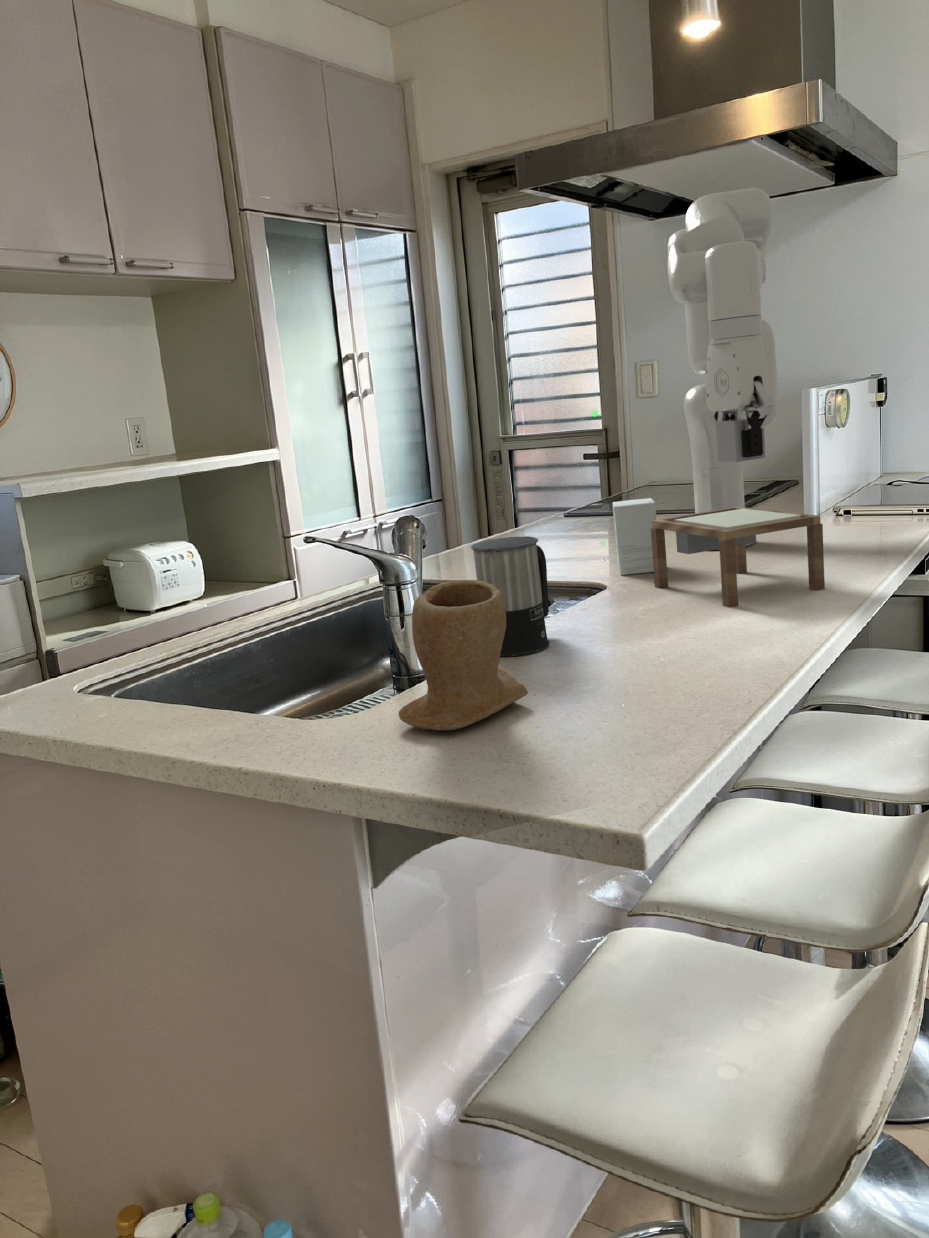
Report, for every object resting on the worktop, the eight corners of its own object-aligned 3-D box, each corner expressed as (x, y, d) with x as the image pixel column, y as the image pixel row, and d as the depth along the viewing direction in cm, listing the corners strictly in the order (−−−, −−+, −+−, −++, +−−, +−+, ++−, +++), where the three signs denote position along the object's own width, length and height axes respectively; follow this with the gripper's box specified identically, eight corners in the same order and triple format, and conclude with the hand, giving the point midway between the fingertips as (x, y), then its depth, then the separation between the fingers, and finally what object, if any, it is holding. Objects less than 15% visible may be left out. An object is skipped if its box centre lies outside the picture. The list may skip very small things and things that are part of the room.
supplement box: (657, 565, 188) (652, 497, 185) (660, 572, 181) (655, 501, 178) (617, 568, 189) (611, 501, 186) (619, 575, 182) (613, 505, 179)
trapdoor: (676, 552, 164) (674, 519, 163) (744, 540, 168) (743, 508, 166) (729, 562, 150) (727, 527, 149) (802, 549, 154) (800, 515, 152)
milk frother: (543, 656, 133) (533, 544, 130) (428, 662, 137) (415, 553, 133) (558, 630, 146) (549, 528, 143) (453, 636, 150) (441, 537, 147)
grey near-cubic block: (717, 461, 155) (715, 421, 153) (746, 457, 156) (744, 417, 155) (736, 462, 150) (734, 421, 149) (765, 457, 152) (763, 417, 150)
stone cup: (466, 746, 102) (449, 601, 98) (385, 730, 110) (367, 595, 107) (557, 703, 112) (545, 570, 109) (478, 691, 120) (464, 567, 117)
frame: (654, 586, 169) (650, 520, 166) (741, 570, 173) (738, 506, 171) (728, 607, 148) (724, 532, 146) (824, 588, 153) (822, 515, 151)
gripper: (682, 339, 156) (690, 457, 160) (746, 328, 140) (753, 460, 144) (725, 334, 158) (731, 451, 162) (792, 324, 142) (797, 454, 146)
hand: (741, 454), depth 153 cm, fingers closed on grey near-cubic block, 5 cm apart
